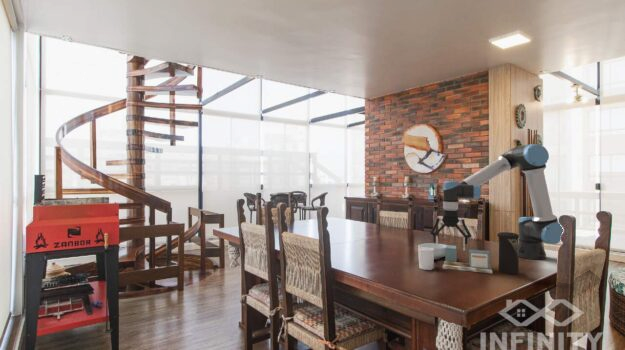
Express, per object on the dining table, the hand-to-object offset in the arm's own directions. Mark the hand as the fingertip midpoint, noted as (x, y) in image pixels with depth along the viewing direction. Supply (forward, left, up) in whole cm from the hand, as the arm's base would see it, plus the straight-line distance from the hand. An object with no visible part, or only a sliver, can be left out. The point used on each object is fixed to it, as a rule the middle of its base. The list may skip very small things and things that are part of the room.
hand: (450, 249), depth 187 cm
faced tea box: (-14, +11, -7) cm, 19 cm away
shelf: (-8, +11, -8) cm, 16 cm away
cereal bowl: (+10, -11, -8) cm, 17 cm away
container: (-26, +11, -8) cm, 30 cm away
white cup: (+11, +15, -8) cm, 20 cm away
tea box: (0, 0, -8) cm, 8 cm away
